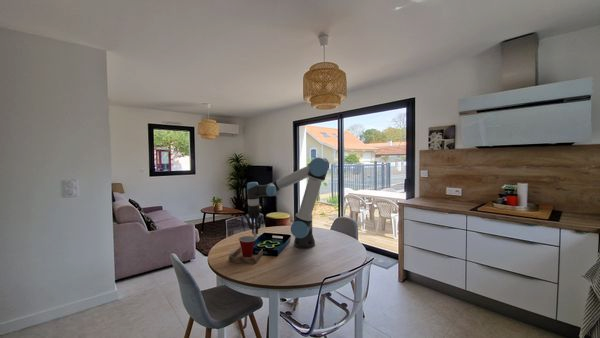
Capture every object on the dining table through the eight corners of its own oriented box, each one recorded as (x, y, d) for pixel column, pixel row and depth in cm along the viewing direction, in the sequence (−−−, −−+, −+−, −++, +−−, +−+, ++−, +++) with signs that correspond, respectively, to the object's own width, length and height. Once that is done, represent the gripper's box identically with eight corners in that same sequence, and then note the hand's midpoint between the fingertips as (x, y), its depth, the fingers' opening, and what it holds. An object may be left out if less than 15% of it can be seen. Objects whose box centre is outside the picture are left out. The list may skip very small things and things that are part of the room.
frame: (263, 252, 162) (263, 248, 162) (255, 263, 146) (255, 258, 146) (239, 251, 165) (239, 247, 165) (229, 261, 149) (228, 257, 149)
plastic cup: (258, 258, 154) (257, 239, 153) (240, 261, 150) (239, 241, 149) (254, 252, 164) (254, 234, 163) (238, 254, 160) (237, 236, 159)
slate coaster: (237, 252, 164) (237, 251, 164) (236, 254, 160) (236, 253, 160) (231, 252, 164) (230, 251, 164) (229, 255, 159) (229, 254, 159)
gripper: (264, 203, 170) (266, 237, 171) (246, 203, 172) (248, 236, 173) (261, 205, 163) (263, 240, 164) (242, 206, 165) (244, 240, 166)
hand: (255, 238), depth 169 cm, fingers closed
